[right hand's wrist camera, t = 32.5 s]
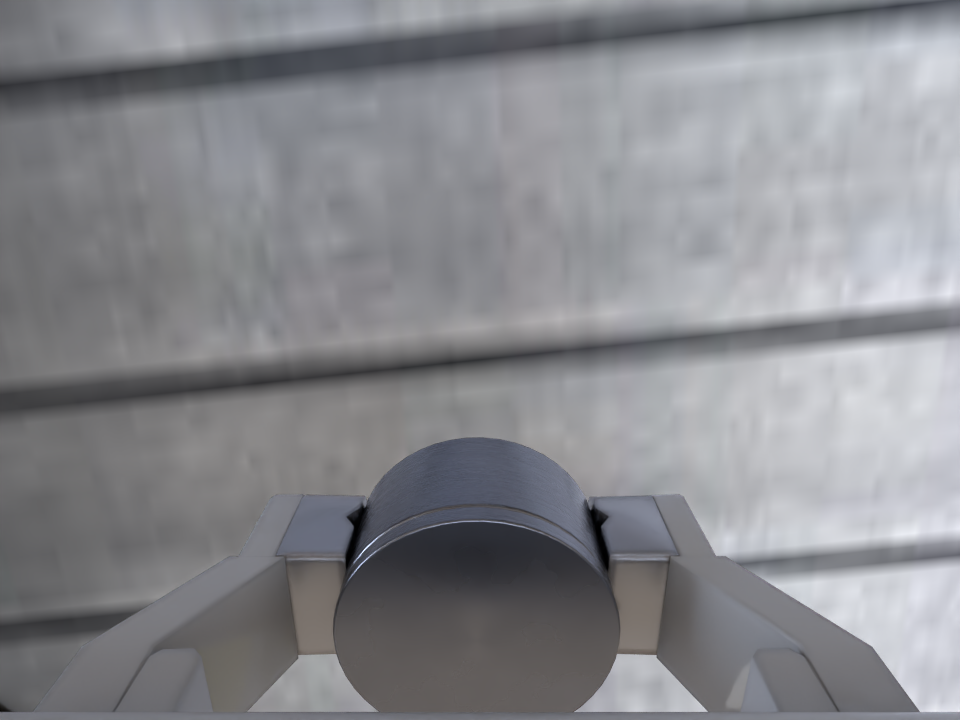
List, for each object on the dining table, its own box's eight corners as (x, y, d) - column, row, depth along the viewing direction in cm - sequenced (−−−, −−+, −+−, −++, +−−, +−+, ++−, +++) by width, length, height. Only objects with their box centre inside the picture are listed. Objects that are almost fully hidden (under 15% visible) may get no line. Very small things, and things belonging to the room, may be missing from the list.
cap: (357, 430, 10) (325, 514, 8) (606, 440, 10) (639, 526, 8) (363, 624, 11) (337, 737, 9) (580, 632, 11) (603, 746, 9)
